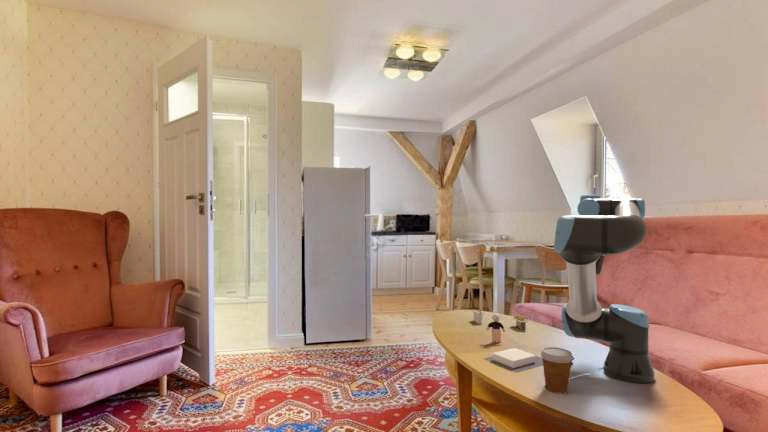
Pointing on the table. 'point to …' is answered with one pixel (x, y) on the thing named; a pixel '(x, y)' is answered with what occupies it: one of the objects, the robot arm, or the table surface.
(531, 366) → the mat
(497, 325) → the grandmother figurine
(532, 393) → the table surface
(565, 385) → the disposable coffee cup
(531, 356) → the tile
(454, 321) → the table surface
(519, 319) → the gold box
